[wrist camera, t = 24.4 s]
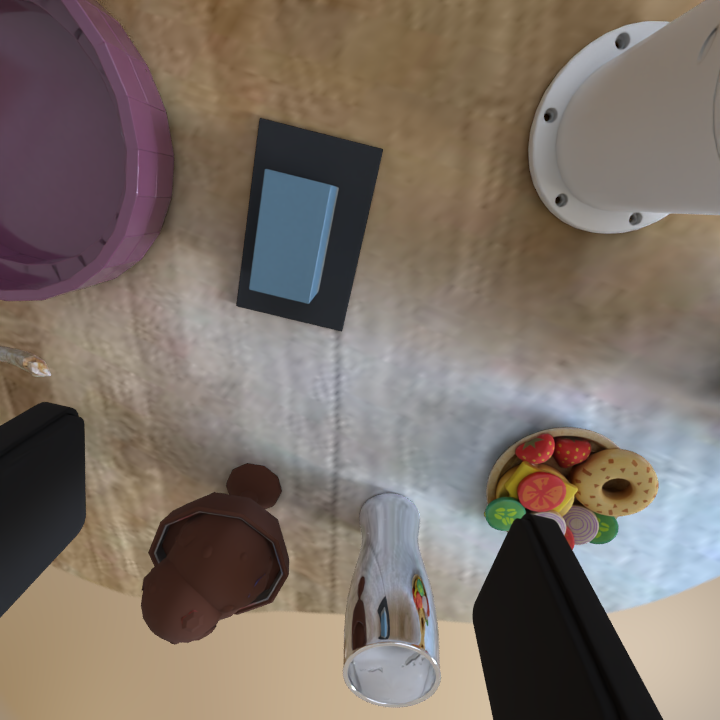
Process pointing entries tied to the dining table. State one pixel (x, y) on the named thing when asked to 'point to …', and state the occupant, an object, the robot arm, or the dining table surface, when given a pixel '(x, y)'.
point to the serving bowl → (76, 149)
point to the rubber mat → (356, 186)
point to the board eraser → (292, 236)
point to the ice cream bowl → (216, 558)
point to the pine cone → (25, 361)
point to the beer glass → (391, 610)
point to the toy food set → (569, 484)
